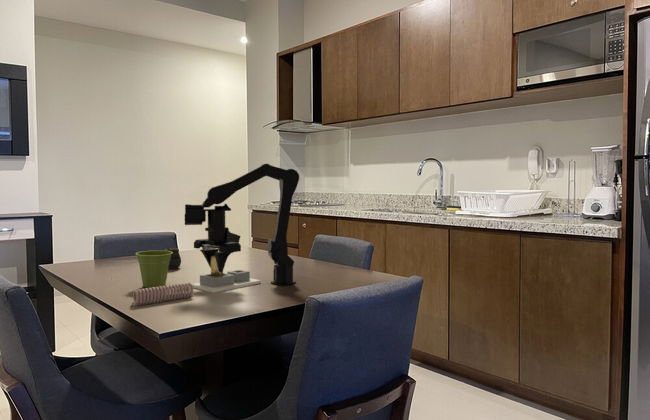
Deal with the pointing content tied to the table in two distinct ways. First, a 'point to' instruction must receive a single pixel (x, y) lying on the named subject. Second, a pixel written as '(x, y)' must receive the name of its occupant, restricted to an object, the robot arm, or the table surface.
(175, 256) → the mate gourd
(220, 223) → the robot arm
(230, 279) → the fitting board
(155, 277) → the plant pot
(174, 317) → the table surface
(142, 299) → the coil
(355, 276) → the table surface
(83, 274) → the table surface
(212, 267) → the cylinder
